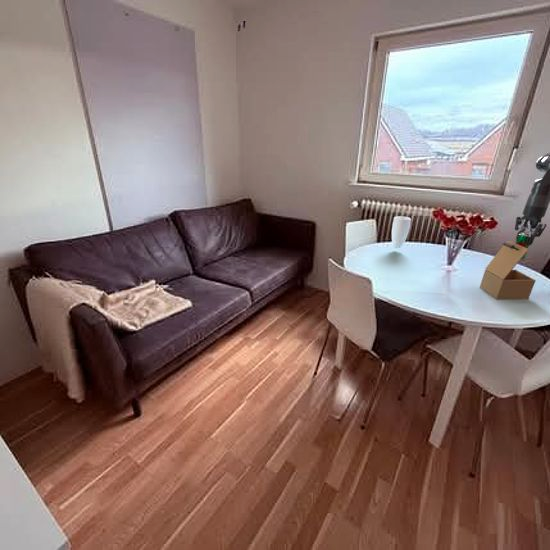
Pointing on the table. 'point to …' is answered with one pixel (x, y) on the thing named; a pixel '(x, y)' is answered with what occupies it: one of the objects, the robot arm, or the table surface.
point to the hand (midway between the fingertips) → (523, 242)
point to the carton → (507, 285)
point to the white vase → (400, 230)
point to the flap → (506, 259)
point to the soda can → (523, 241)
